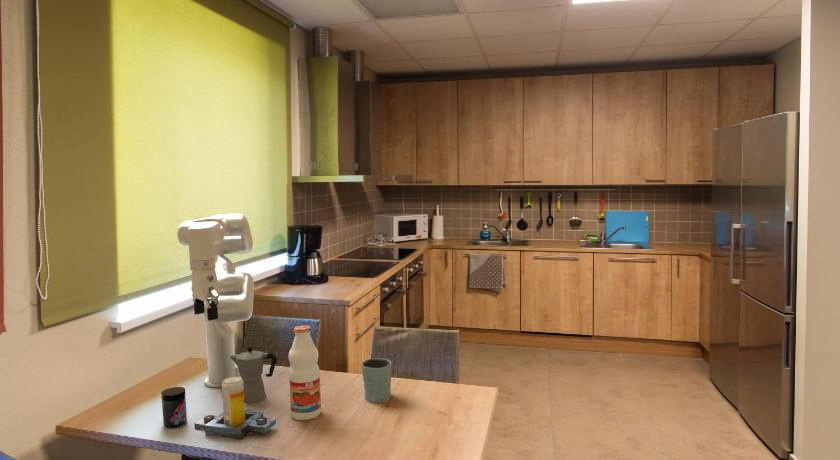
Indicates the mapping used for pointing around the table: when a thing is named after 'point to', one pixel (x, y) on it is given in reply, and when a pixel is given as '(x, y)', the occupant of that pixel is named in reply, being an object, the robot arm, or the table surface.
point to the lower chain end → (207, 419)
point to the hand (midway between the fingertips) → (206, 316)
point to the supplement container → (174, 407)
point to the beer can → (233, 401)
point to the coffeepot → (253, 373)
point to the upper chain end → (252, 424)
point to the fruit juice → (304, 376)
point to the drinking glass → (377, 379)
